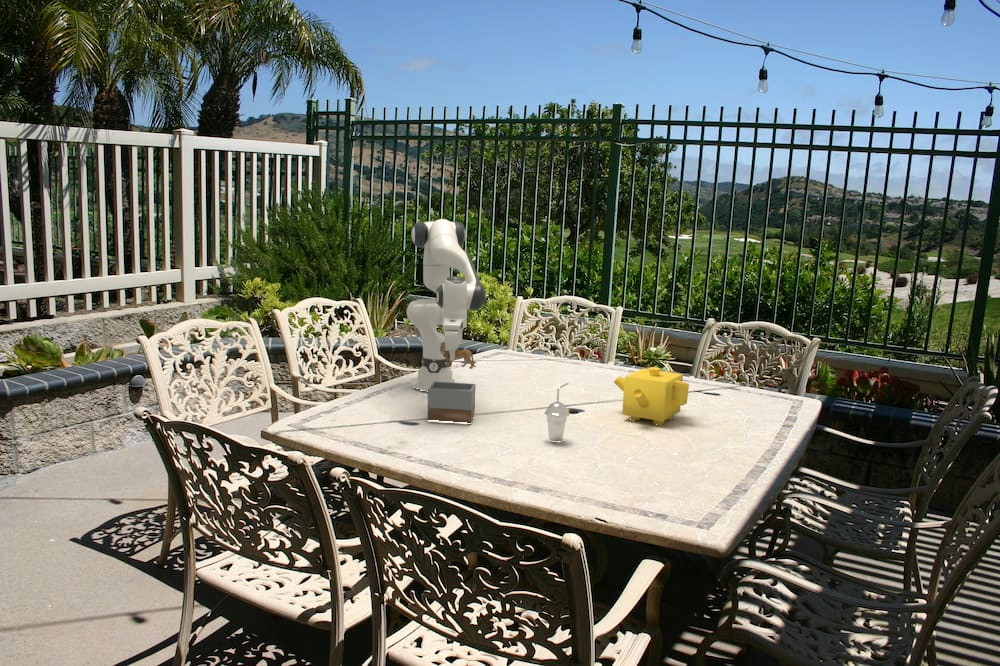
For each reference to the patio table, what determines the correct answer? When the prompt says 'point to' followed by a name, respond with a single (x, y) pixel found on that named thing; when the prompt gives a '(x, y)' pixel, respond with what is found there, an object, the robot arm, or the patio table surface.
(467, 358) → the lion figurine
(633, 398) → the yellow teapot
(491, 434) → the patio table surface
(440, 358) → the robot arm
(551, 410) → the cup with straw
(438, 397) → the grey storage bin
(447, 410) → the tower bottom
